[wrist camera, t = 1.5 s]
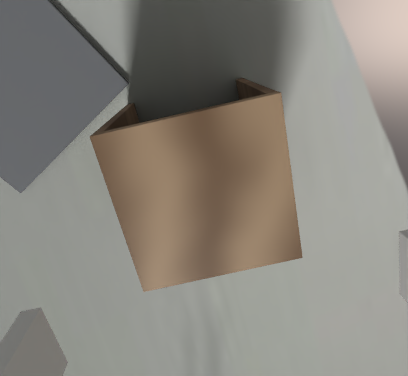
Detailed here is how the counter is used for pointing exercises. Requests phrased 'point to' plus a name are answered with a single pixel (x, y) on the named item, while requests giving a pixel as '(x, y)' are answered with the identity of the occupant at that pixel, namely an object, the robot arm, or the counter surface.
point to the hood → (202, 188)
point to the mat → (46, 87)
